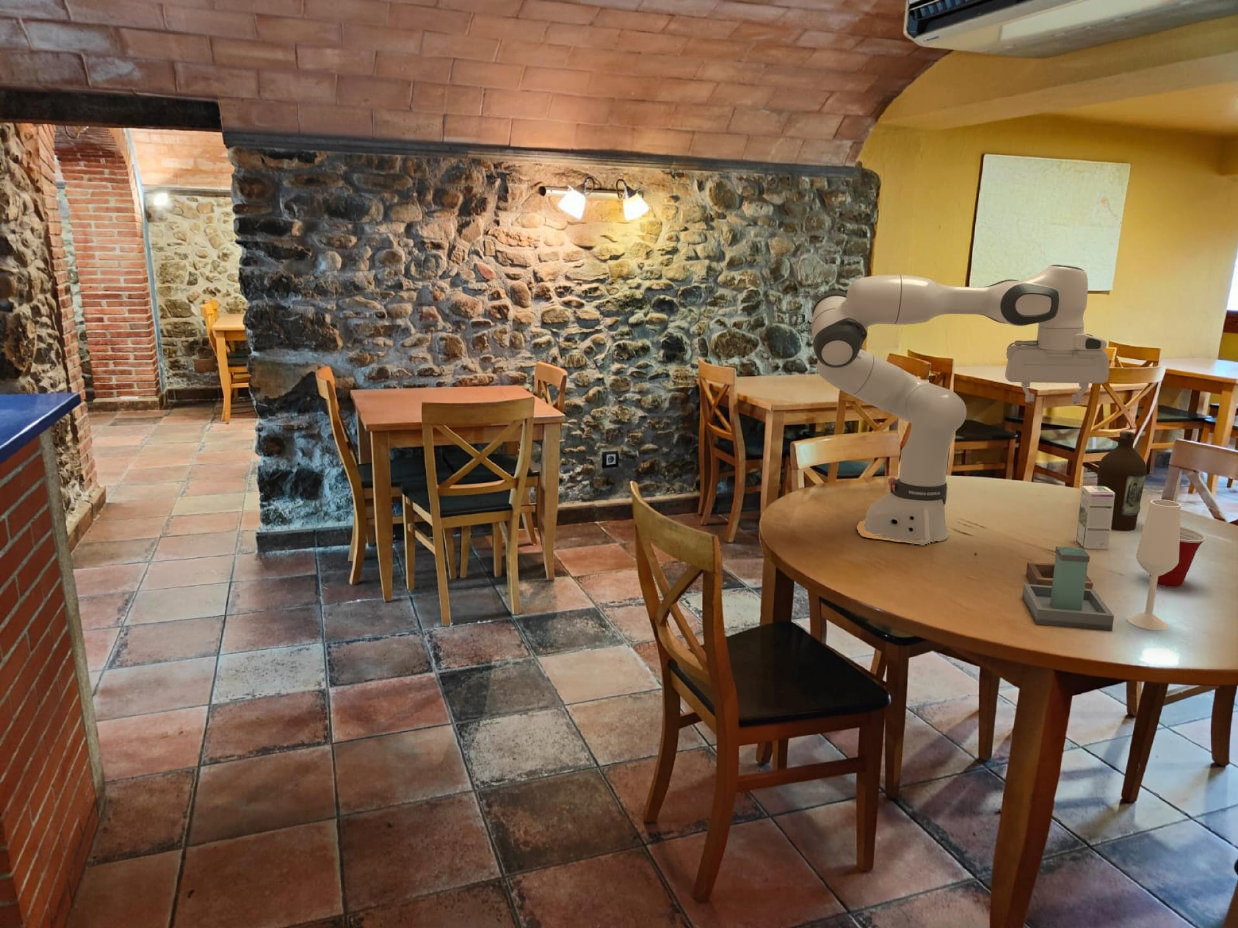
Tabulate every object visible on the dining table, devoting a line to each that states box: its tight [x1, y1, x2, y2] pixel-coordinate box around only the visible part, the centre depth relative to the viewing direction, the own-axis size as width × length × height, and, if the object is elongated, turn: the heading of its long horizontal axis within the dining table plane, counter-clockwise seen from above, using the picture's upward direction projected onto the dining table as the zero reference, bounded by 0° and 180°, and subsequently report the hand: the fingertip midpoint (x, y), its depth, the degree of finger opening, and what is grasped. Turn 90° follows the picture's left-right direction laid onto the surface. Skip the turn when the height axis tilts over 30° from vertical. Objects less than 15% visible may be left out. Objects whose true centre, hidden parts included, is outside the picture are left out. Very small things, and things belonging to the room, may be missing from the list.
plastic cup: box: [1149, 525, 1207, 588], centre depth 169 cm, size 11×11×12 cm
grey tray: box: [1021, 583, 1115, 632], centre depth 156 cm, size 13×13×3 cm
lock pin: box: [1050, 546, 1091, 611], centre depth 155 cm, size 5×5×12 cm
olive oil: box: [1096, 430, 1148, 532], centre depth 205 cm, size 11×11×25 cm
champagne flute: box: [1126, 499, 1182, 631], centre depth 149 cm, size 7×7×24 cm
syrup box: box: [1075, 485, 1115, 551], centre depth 192 cm, size 6×6×14 cm
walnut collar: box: [1025, 561, 1094, 589], centre depth 170 cm, size 10×10×3 cm
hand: (1052, 402), depth 177 cm, fingers open, 8 cm apart
